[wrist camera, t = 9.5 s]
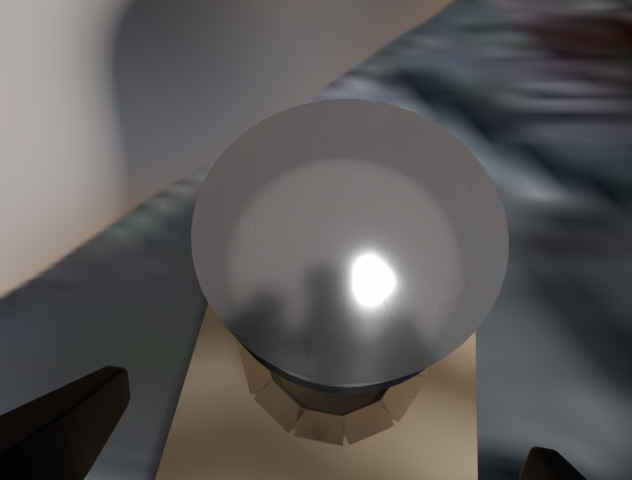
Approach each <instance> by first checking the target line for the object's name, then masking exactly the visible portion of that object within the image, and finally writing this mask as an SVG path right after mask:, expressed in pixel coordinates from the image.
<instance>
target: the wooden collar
mask: <svg viewBox="0 0 632 480" xmlns="http://www.w3.org/2000/svg"><path fill="white" fill-rule="evenodd" d="M238 343H240V342H238ZM240 344H241V343H240ZM239 352H240V356H241V360H242V364H243V367H244V371H245V375H246V379H247V383H248V386H249V390H250V394H257V395H256V396H255V398H254V400H255V401H256V402H257V403H258V404H259V405H260V406H261V407H262V408H263V409H264V410H265V411H266V412H267V413H268V414H269V415H270V416H271V417H272V418H273V419H274V420H275V421H276V422H277V423H278V424H279V425H280V426H281V427H282V428H284V429H285V430H286V431H287V432H288V433H290V432H291V431H292V430H293V429H295V433H294V436H295V437H300V438H305V439H310V440H315V441H320V442H325V443H330V444H334V445H339V446H343V440H344V434H345V437H346V439H347V442H348V444H349V445H351V444H354V443H356V442H358V441H361V440H363V439H365V438H368V437H370V436H373V435H375V434H377V433H380V432H382V431H384V430H387V429H389V428H391V427H394V424H393V421H392V420H394V421H397V422H400V420H401V419H402V417H403V416H404V414H405V413H406V411H407V410H408V408H409V407H410V405H411V404H412V402H413V401H414V399H415V397H416V396H417V394H418V393H419V391H420V390H421V388H422V387H423V385H424V384H425V382H426V381H425V380H423V379H422V378H421V377H425V376H428V368H426V369H425V370H423V371H422V372H421V373H419V374H418V375H416V376H414V377H412V378H410V379H408V380H407V381H405V382H403V383H401V384H398V385H395V386H392V387H389V388H386V389H384V390H380V391H379V392H378V393H377V395H376V396H375V398H374V399H373V400H372V401H370V402H368V403H366V404H363V405H361V406H358V407H356V408H354V409H351V410H349V411H346V412H344V413H341V414H339V413H334V412H329V411H324V410H318V409H313V408H308V407H306V406H305V405H304V404H303V403H302V402H301V401H300V400H299V399H298V398H297V397H296V396H295V395H293V394H292V393H291V392H290V391H289V390H288V389H287V388H286V387H285V386H284V385H283V384H282V382H281V379H280V376H278V375H276V374H274V373H273V372H271V371H269V370H268V369H267V368H266V367H264V366H263V365H262V364H261V363H259V362H258V361H257V360H256V359H255V358H254V357H253V356H252V355H251V354H250V353H249V352H248V351H247V350H246V349H245V348H244V347H240V348H239Z"/></svg>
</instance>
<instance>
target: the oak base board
mask: <svg viewBox="0 0 632 480" xmlns="http://www.w3.org/2000/svg"><path fill="white" fill-rule="evenodd" d="M238 342H239V341H238V340H237V339H236V338H235V337H234V336H233V335H232V334H231V333H230V332H229V331H228V330H227V328H226V327H225V326H224V325H223V324H222V323H221V321H220V320H219V319H218V317H217V316H216V314H215V313H214V312H213V310H212V309H211V307H210V305H209V303H208V306H207V309H206V312H205V316H204V319H203V322H202V326H201V329H200V332H199V336H198V339H197V342H196V345H195V349H194V352H193V355H192V359H191V362H190V365H189V369H188V372H187V375H186V379H185V382H184V385H183V388H182V392H181V395H180V398H179V402H178V405H177V408H176V412H175V415H174V418H173V421H172V425H171V428H170V431H169V435H168V438H167V441H166V445H165V448H164V451H163V454H162V458H161V461H160V464H159V468H158V471H157V474H156V478H155V480H478V470H477V401H476V333H475V332H474V333H473V334H472V335H471V336H470V337H469V338H468V339H467V340H466V341H465V342H464V343H463V344H462V345H461V346H460V347H459V348H457V349H456V350H455V351H453V352H452V353H451V354H449V355H448V356H446V357H445V358H444V359H442V360H440V361H439V362H437V363H435V364H433V365H431V366H429V367H428V376H425V377H421V378H422V379H423V380H425V381H426V382H425V384H424V385H423V387H422V388H421V390H420V391H419V393H418V394H417V396H416V397H415V399H414V401H413V402H412V404H411V405H410V407H409V408H408V410H407V411H406V413H405V414H404V416H403V417H402V419H401V420H400V422H397V421H394V420H392V421H393V424H394V427H391V428H389V429H387V430H384V431H382V432H380V433H377V434H375V435H373V436H370V437H368V438H365V439H363V440H361V441H358V442H356V443H354V444H351V445H349V444H348V442H347V439H346V437H345V434H344V440H343V446H339V445H334V444H330V443H325V442H320V441H315V440H310V439H305V438H300V437H295V436H294V433H295V429H293V430H292V431H291V432H290V433H288V432H287V431H286V430H285V429H284V428H282V427H281V426H280V425H279V424H278V423H277V422H276V421H275V420H274V419H273V418H272V417H271V416H270V415H269V414H268V413H267V412H266V411H265V410H264V409H263V408H262V407H261V406H260V405H259V404H258V403H257V402H256V401H255V400H254V398H255V396H256V395H257V394H250V390H249V386H248V383H247V379H246V375H245V371H244V367H243V364H242V360H241V356H240V352H239V348H240V347H243V346H242V344H240V343H238ZM280 379H281V382H282V384H283V385H284V386H285V387H286V388H287V389H288V390H289V391H290V392H291V393H292V394H293V395H295V396H296V397H297V398H298V399H299V400H300V401H301V402H302V403H303V404H304V405H305V406H306V407H308V408H313V409H318V410H324V411H329V412H334V413H339V414H341V413H344V412H346V411H349V410H351V409H354V408H356V407H358V406H361V405H363V404H366V403H368V402H370V401H372V400H373V399H374V398H375V396H376V395H377V393H378V392H379V391H374V392H369V393H364V394H350V395H337V394H327V393H321V392H317V391H313V390H309V389H306V388H304V387H301V386H299V385H296V384H294V383H291V382H289V381H287V380H285V379H283V378H281V377H280Z"/></svg>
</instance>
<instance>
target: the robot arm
mask: <svg viewBox="0 0 632 480" xmlns="http://www.w3.org/2000/svg"><path fill="white" fill-rule="evenodd" d="M129 400H130V388H129V380H128V372H127V370H126V369H124V368H121V367H116V366H106V367H104V368H101V369H99V370H97V371H95V372H93V373H91V374H88V375H86V376H84V377H82V378H80V379H78V380H76V381H73V382H71V383H69V384H67V385H65V386H63V387H61V388H58V389H56V390H54V391H52V392H50V393H48V394H46V395H43V396H41V397H39V398H37V399H35V400H33V401H31V402H28V403H26V404H24V405H22V406H20V407H18V408H16V409H13V410H11V411H9V412H7V413H5V414H3V415H1V416H0V480H84V478H85V477H86V475H87V474H88V472H89V471H90V469H91V467H92V466H93V464H94V463H95V461H96V459H97V457H98V456H99V454H100V452H101V451H102V449H103V447H104V445H105V444H106V442H107V440H108V439H109V437H110V435H111V433H112V432H113V430H114V428H115V427H116V425H117V423H118V421H119V420H120V418H121V416H122V415H123V413H124V411H125V410H126V408H127V406H128V403H129ZM520 480H587V479H586V478H585V477H584V476H583V475H581V474H580V473H579V472H578V471H577V470H576V469H575V468H574V467H573V466H572V465H571V464H570V463H569V462H568V461H567V460H566V459H565V458H563V457H562V456H561V455H560V454H559V453H558V452H556V451H555V450H552V449H547V448H542V447H537V446H535V447H532V448H531V449H530V451H529V454H528V456H527V458H526V461H525V463H524V465H523V468H522V470H521V473H520Z"/></svg>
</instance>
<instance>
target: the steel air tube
mask: <svg viewBox="0 0 632 480" xmlns="http://www.w3.org/2000/svg"><path fill="white" fill-rule="evenodd" d="M508 243H509V236H508V229H507V222H506V216H505V213H504V209H503V206H502V203H501V199H500V197H499V195H498V193H497V190H496V188H495V186H494V184H493V182H492V180H491V179H490V177H489V175H488V174H487V172H486V170H485V169H484V167H483V166H482V165H481V164H480V162H479V161H478V160H477V159H476V157H475V156H474V155H473V154H472V153H471V152H470V151H469V150H468V149H467V148H466V147H465V146H464V145H463V144H462V143H461V142H460V141H459V140H458V139H457V138H455V137H454V136H453V135H451V134H450V133H449V132H448V131H446V130H445V129H443V128H442V127H440V126H439V125H437V124H435V123H434V122H432V121H430V120H428V119H426V118H424V117H422V116H420V115H418V114H416V113H414V112H411V111H408V110H405V109H403V108H400V107H397V106H393V105H389V104H385V103H381V102H374V101H367V100H355V99H338V100H325V101H318V102H312V103H308V104H304V105H300V106H296V107H293V108H290V109H287V110H285V111H282V112H279V113H277V114H275V115H273V116H271V117H269V118H267V119H265V120H263V121H261V122H260V123H258V124H257V125H255V126H254V127H252V128H250V129H249V130H248V131H246V132H245V133H244V134H243V135H241V136H240V137H239V138H238V139H236V140H235V141H234V142H233V143H232V144H231V145H230V146H229V147H228V148H227V149H226V150H225V151H224V152H223V154H222V155H221V156H220V158H219V159H218V160H217V162H216V163H215V164H214V165H213V167H212V169H211V170H210V172H209V174H208V176H207V177H206V179H205V181H204V183H203V186H202V188H201V190H200V193H199V195H198V198H197V201H196V205H195V209H194V213H193V219H192V228H191V251H192V257H193V263H194V269H195V272H196V275H197V278H198V281H199V284H200V287H201V290H202V292H203V294H204V296H205V298H206V300H207V301H208V303H209V305H210V307H211V309H212V310H213V312H214V313H215V314H216V316H217V317H218V319H219V320H220V321H221V323H222V324H223V325H224V326H225V327H226V328H227V330H228V331H229V332H230V333H231V334H232V335H233V336H234V337H235V338H236V339H237V340H238V341H239V342H240V343H241V344H242V346H243V347H244V348H245V349H246V350H247V351H248V352H249V353H250V354H251V355H252V356H253V357H254V358H255V359H256V360H257V361H258V362H259V363H261V364H262V365H263V366H264V367H266V368H267V369H268V370H269V371H271V372H273V373H274V374H276V375H278V376H280V377H281V378H283V379H285V380H287V381H289V382H291V383H294V384H296V385H299V386H301V387H304V388H306V389H309V390H313V391H317V392H321V393H327V394H337V395H350V394H364V393H369V392H374V391H380V390H384V389H386V388H389V387H392V386H395V385H398V384H401V383H403V382H405V381H407V380H408V379H410V378H412V377H414V376H416V375H418V374H419V373H421V372H422V371H423V370H425V369H426V368H428V367H429V366H431V365H433V364H435V363H437V362H439V361H440V360H442V359H444V358H445V357H446V356H448V355H449V354H451V353H452V352H453V351H455V350H456V349H457V348H459V347H460V346H461V345H462V344H463V343H464V342H465V341H466V340H467V339H468V338H469V337H470V336H471V335H472V334H473V333H474V332H475V331H476V330H477V329H478V328H479V326H480V325H481V324H482V322H483V321H484V320H485V318H486V317H487V315H488V314H489V313H490V311H491V309H492V307H493V305H494V303H495V301H496V299H497V297H498V295H499V293H500V289H501V286H502V283H503V280H504V277H505V273H506V267H507V261H508Z"/></svg>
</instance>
